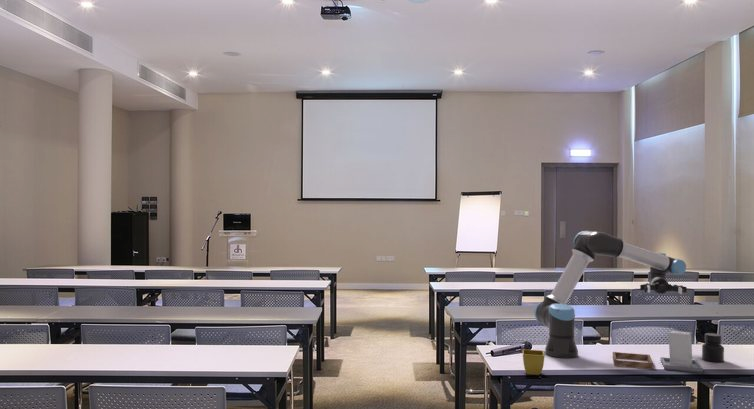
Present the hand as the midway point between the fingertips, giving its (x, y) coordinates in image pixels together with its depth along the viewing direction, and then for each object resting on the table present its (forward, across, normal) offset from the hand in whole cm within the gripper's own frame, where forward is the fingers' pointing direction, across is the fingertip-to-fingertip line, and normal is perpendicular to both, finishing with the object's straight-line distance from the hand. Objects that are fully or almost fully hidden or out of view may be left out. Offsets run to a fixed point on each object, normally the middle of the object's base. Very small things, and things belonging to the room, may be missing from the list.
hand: (665, 290), depth 286 cm
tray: (+14, -5, -32) cm, 35 cm away
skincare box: (+14, -5, -32) cm, 35 cm away
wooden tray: (+14, +15, -32) cm, 38 cm away
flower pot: (+49, +56, -32) cm, 81 cm away
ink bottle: (-5, -21, -32) cm, 39 cm away
